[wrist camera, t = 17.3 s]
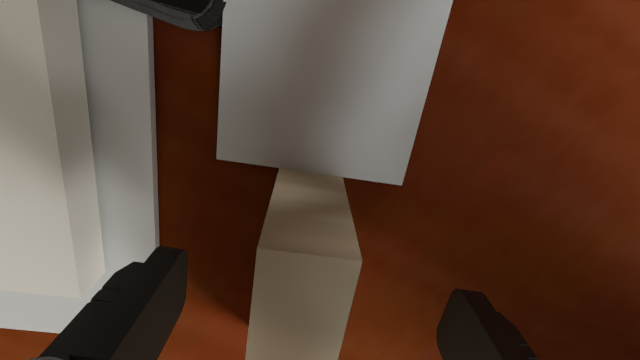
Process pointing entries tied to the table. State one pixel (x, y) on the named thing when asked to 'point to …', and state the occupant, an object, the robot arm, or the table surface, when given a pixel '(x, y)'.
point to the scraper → (319, 144)
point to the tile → (46, 154)
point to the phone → (181, 12)
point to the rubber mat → (110, 155)
